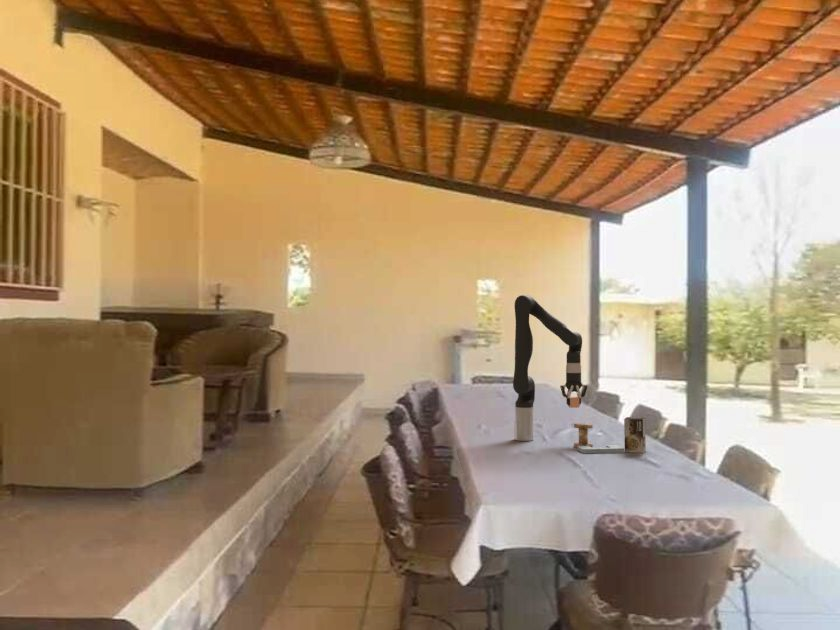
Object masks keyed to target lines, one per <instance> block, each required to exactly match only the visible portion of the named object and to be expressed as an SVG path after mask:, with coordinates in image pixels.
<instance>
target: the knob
mask: <svg viewBox="0 0 840 630" xmlns="http://www.w3.org/2000/svg"><path fill="white" fill-rule="evenodd" d="M573 428H574V429H578V441H576V442H573V447H574V448H577V446H590V447H592V448H594V447H593V442H588V441H589V440H588V439H589V431H588V429H593V423H586V422H585V423H584V422H580V423H579V422H577V423H573Z"/></svg>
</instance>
